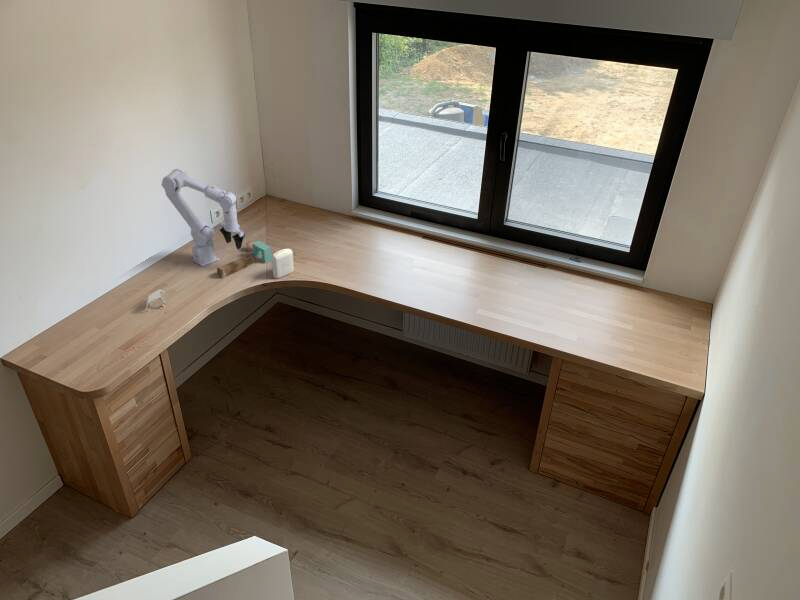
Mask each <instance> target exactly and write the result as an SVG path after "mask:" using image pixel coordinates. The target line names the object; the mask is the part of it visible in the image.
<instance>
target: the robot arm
mask: <svg viewBox="0 0 800 600" xmlns="http://www.w3.org/2000/svg"><path fill="white" fill-rule="evenodd" d="M161 180H162V181H161V186H162V188H163V189H164V192H165V196H166V197H167V199H168V200H169V201H170V202H171V204H172V205H173V206H174V208H175V209H176V210H177V212H178V213H179V215H180V216H181V217H182V218H183V220H185V222H186V223H187V225H188V226H189V228H190V236H191V237H192V239H193V242H194V244H195V245H194V246H193V247H191V250H192V256H193V257H192V259H193V260H192V261H193V262H195V263H196V264H197V265H199V266H201V267H204V266H206V265H209V264H211V263H215V262H217V261H219V260H220V257H218V256H216V253H215V245H214V244H215V243H214V239H213V237H214V236H215V230H214V228H213V227H211V226H210V225H208V223H207V222H205V221H202V220H201V219H200V218H199V216H198V215H197V213H195V211H194V210H193V208H192V207H191V205H190V204H189V203H188V201H186V198H185V197H184V196H183V195H182V194H181V188H182V189H183V188H186V187H187V188H190V189H193V190H195V191H197V192H200V193H202V194H204V196H205V198H207V199H209V200H212V201H214V202H216V203H219V206H220V207H221V208H222V214H223V221H221V222H220V223H219V224H220V227H221V228H220V229H219V232H220V233H221V234H222V235H223V238H224V239H225V242H226V244H230V243H232V239H233V240H234V243H235V247H236V249H237V250H239V249H241V248H242V246H243V240H244V237H245V236H246V234H245V232H244V231H243V230H242V229H241V228H240V227H241V225H240V224H239V223H238V215H237V207H236V202H237V201H238V197H237V195H236V193H234V191H232V190H227V191H226V190H223V189H221V188H219V187H218V186H216V185H214V184H209V185H206V184H204V183H203V182H201V181H198V179H195V178H193V177H191V176H190V175H189V174H187V172H185V171H183V170H181V169H179V168H176V169H175V168H174V169H173V170H172V171H171V172H170V173H169V174H167V175H166V176H164V177H163V178H162V179H161ZM232 234H234V235H232Z"/></svg>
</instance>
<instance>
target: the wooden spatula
mask: <svg viewBox="0 0 800 600" xmlns="http://www.w3.org/2000/svg"><path fill="white" fill-rule="evenodd" d="M253 257H254V256H251V255H250V256H248V257H240V258H237V259H236V260H233V261H231V262H229V263H226V264H224V265H221V266H218V267H216V270H217V271H216V272H217V276H218V277H219V278H220V279H223V278H226V277H228V276H230V275H233V274H234V273H237V272H239V271H242V270H243V269H246V268H248V265H250V264H252V263H254V258H253Z"/></svg>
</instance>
